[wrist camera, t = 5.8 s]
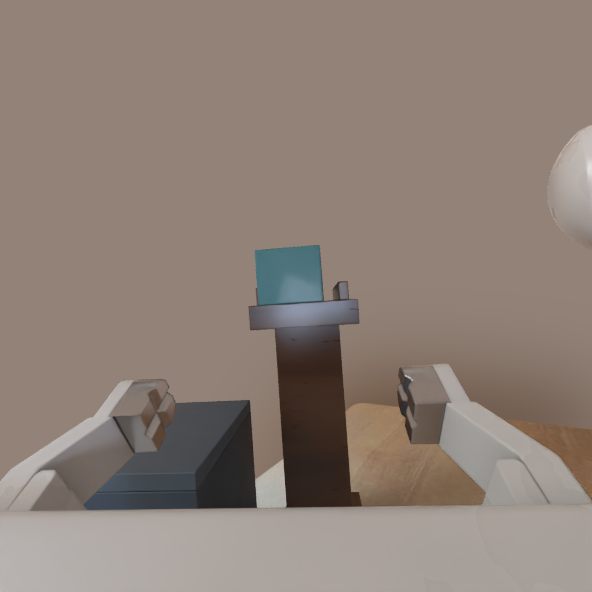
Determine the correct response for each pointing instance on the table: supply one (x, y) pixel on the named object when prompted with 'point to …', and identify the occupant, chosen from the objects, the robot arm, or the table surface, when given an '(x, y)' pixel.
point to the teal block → (289, 275)
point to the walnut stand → (312, 397)
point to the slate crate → (190, 464)
